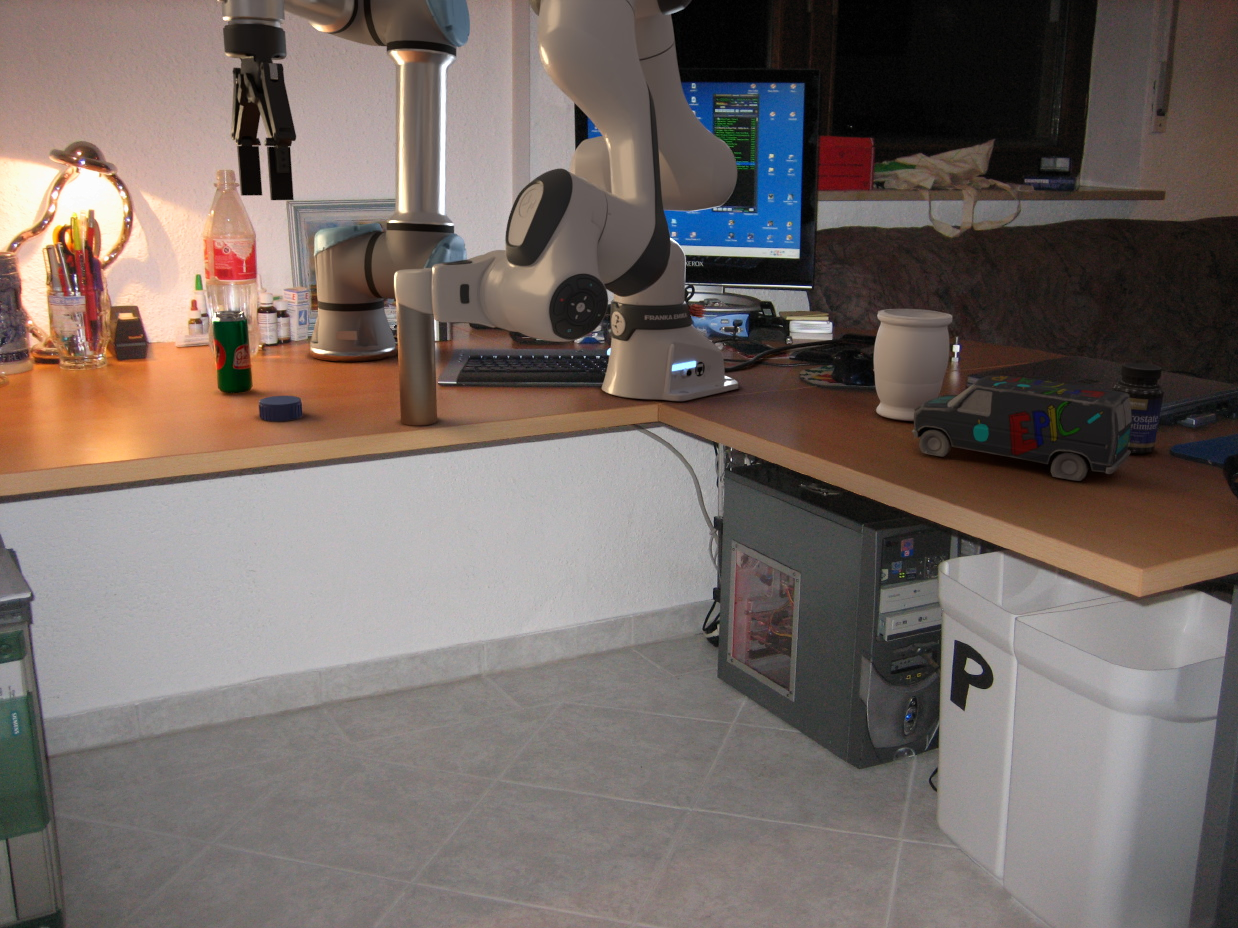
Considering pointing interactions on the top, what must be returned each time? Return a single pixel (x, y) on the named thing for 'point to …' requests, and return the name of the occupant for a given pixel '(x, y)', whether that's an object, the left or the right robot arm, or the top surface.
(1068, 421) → the toy van
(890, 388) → the jar
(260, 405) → the lid
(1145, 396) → the pill bottle
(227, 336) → the soda can
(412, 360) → the metal bottle
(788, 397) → the top surface
